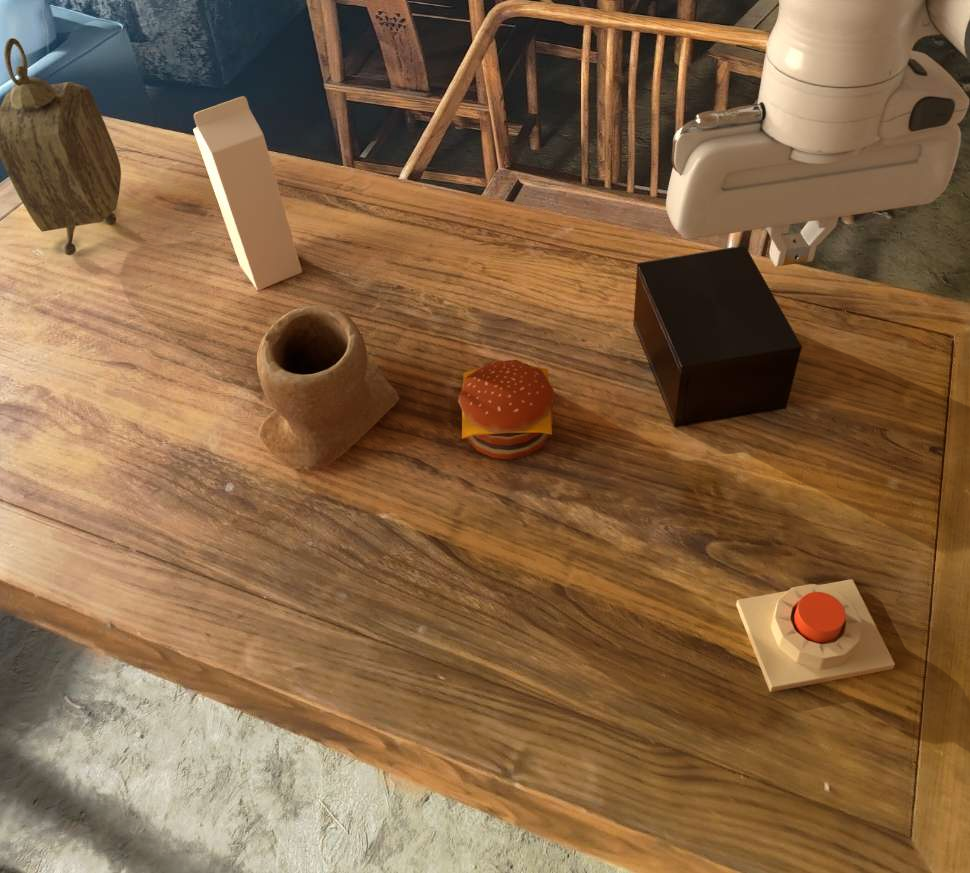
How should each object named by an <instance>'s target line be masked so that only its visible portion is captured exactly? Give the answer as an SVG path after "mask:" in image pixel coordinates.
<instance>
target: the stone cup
mask: <svg viewBox="0 0 970 873" xmlns="http://www.w3.org/2000/svg"><path fill="white" fill-rule="evenodd" d="M256 356H257V357H256V368H257V370H256V371H257V375H258V379H259V382H260V386H261V389H262V391H263V393H264V396H265V398H266V399H267V401H268V402H269V404H270V405H271V406H272V407H273V408H274V409H273V410H272V412H270V413H269V414H268V416H266V418H265V419H264V421H263V422H262V423H261V425H260V426H259V429H258V436H259V441H260V442H261V444H262V445H263V447H264V448H265V450H266V451H267V453H268V454H269V455H270V456H271V457H272V458H274V459H275V460H277V461H278V462H280V463H282V464H283V465H285V466H287V467H288V468H292V469H298V470H299V469H304V470H305V471H307V472H314V471H318V470H321V469H324V468H325V467H327V466H328V465H330V464H331V463H333V462H334V461H336V460H337V459H339V458H340V457H341V456H343V455H344V454H345V453H347V452H348V451H349V450H350V449H351V448H352V447H353V446H354V445H355V444H356V443H357V442H358V441H359V440H361V438H363V437H364V436H365V435H366V434H367V433H368V432H369V431H370V430H371V429H372V428H373V427H375V425H376V424H377V423H378V422H379V421H380V420H381V419H382V418H383V417H385V415H386V414H387V413H388V412H389V411H390V410H392V409H393V407H394V406H395V405H396V404H397V403H398V401H399V400H400V396H399V393H398V392H397V390H396V389H395V388H394V387H393V386H392V385H391V384H390V382H389V381H388V380H387V379H386V378H385V377H384V375H383V374H381V373H380V368H379V366H378V365H377V364H376V361H375V360H374V359H373V358H372V357H371V356H370V355H369V354H368V351H367V346H366V342H365V338H364V336H363V335H362V333H361V331H360V329H359V328H358V326H357V325H356V323H355V322H354V320H352V318H351V317H350V315H349V316H348V314H347V313H345V312H343V311H342V310H340V309H338V308H335V307H332V306H327V305H319V304H314V305H308V306H301V307H297V308H295V309H292V310H290V311H288V312H287V313H285V314H284V315H281V317H280V318H278V319H277V320H276V321H275V322H273V324H272V325H270V327H269V329H268V330H267V331H266V332H265V334H264V336H263V337H262V339H261V341H260V343H259V346H258V350H257V353H256Z"/></svg>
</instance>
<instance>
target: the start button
mask: <svg viewBox="0 0 970 873" xmlns="http://www.w3.org/2000/svg"><path fill="white" fill-rule="evenodd" d="M845 617H846V615H845V610H844V607H843V606H842V604H841V603H840V602H839V601H838V600H837V599H836V598H835V597H833V596H831V595H829V594H827V593H823V592H812V593H808V594H806V595H804V596H803V597H802V598H801V599H800V601H799V603H798V606H797V608H796V611H795V614H794V624H795V626H796V628H797V630H798V631H799V633H800V634H801V635H802V636H804V637H805V638H807V639H808V640H811V641H814V642H819V643H825V642H829V641H832V640H834V639H835V638H836V637H837V636H838V635H839V633H840V631H841V629H842V626H843V624H844V622H845Z"/></svg>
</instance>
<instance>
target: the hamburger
mask: <svg viewBox="0 0 970 873" xmlns="http://www.w3.org/2000/svg"><path fill="white" fill-rule="evenodd" d="M462 376H463V377H462V388H461V391H460V394H459V395H458V399H457V403H458V405H459V408H460V409H461V439H462V440H463V439H467V441H468V442H469V444H471V445H472V447H473V448H474V449H475V450H476V451H477V452H479V453H481V454H483V455H486V456H487V457H489V458H492V459H500V460H514V459H520V458H523V457H528V456H530V455H531V454H533V453H535V452H536V451H539V449H542V447H543V446H544V445H545V444H546V442H547V441H548V439H549V438H550V437H551V435H553V427H554V416H553V410H554V409H553V407H554V402H553V401H554V398H555V395H556V391H555V390H554V387H553V386H552V384H551V383H550V378H549V368H547V367H546V368H545V367H540V366H533V365H532V364H529V363H526V362H523V361H520V360H518V359H511V360H510V359H509V360H501V361H500V360H499V361H489V362H487V363H486V364H484V365H482V366H481V367H480V368H478V369H473V370H469V371H466V372H464V373H463V375H462Z"/></svg>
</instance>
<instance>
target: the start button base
mask: <svg viewBox="0 0 970 873" xmlns="http://www.w3.org/2000/svg"><path fill="white" fill-rule="evenodd" d="M812 592H823V593H827V594H829V595H831V596H833V597H835V598H836V599H837V600H838V601H839V602H840V603H841V604H842V606H843V607H844V610H845V615H846V617H845V622H844V624H843V626H842V629H841V631H840V633H839V635H838V636H837V637H836V638H835V639H834V640H832V641H829V642H825V643H819V642H814V641H811V640H808V639H807V638H805V637H804V636H802V635H801V634H800V633H799V631H798V630H797V628H796V626H795V624H794V614H795V611H796V608H797V606H798V603H799V601H800V599H801V598H802V597H803V596H804V595H806V594H808V593H812ZM735 606H736V608H737V611H738V614H739V616H740V619H741V621H742V624H743V627H744V629H745V632H746V634H747V636H748V640H749V642H750V644H751V647H752V651H753V653H754V655H755V657H756V660H757V662H758V665H759V667H760V670H761V672H762V675H763V678H764V680H765V684H766V685H767V688H768V690H769V692H771V693H773V692H777V691H783V690H784V691H785V690H788V689H793V688H799V687H804V686H809V685H816V684H820V683H821V684H822V683H826V682H832V681H836V680H842V679H848V678H853V677H859V676H863V675H864V676H865V675H869V674H874V673H880V672H885V671H890V670H893V669H894V668H895V666H896V663H895V661H894V659H893V657H892V654H891V653H890V652H889V649H888V647H887V645H886V643H885V641H884V638H883V637H882V635H881V633H880V631H879V629H878V627H877V625H876V623H875V621H874V619H873V617H872V615H871V612H870V611H869V609H868V607H867V605H866V603H865V601H864V599H863V597H862V595H861V593H860V591H859V589H858V586H857V585H856V583H855V581H854V579H846V580H839V581H835V582H829V583H824V584H815V583H809V584H805V585H799V586H793V587H790V589H789V590H785V591H780V592H773V593H768V594H763V595H757V596H751V597H747V598H740V599H737V600H736V603H735Z"/></svg>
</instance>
